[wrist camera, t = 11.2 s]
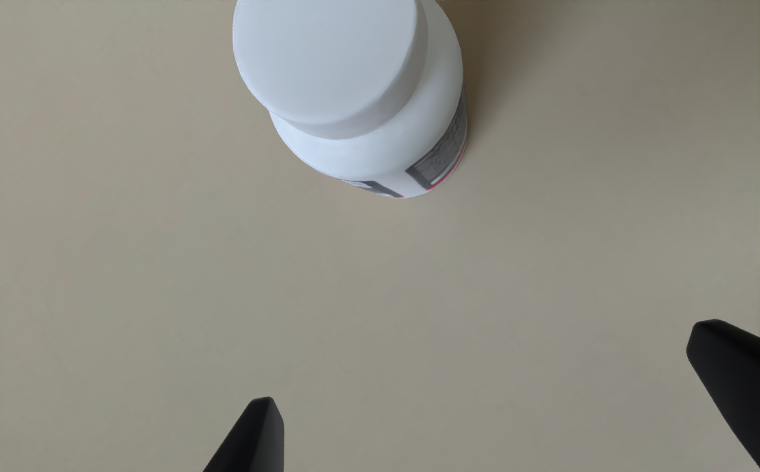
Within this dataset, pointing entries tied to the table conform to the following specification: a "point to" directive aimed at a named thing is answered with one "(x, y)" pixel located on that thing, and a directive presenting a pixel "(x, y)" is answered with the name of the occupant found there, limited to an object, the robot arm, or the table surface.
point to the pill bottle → (359, 87)
